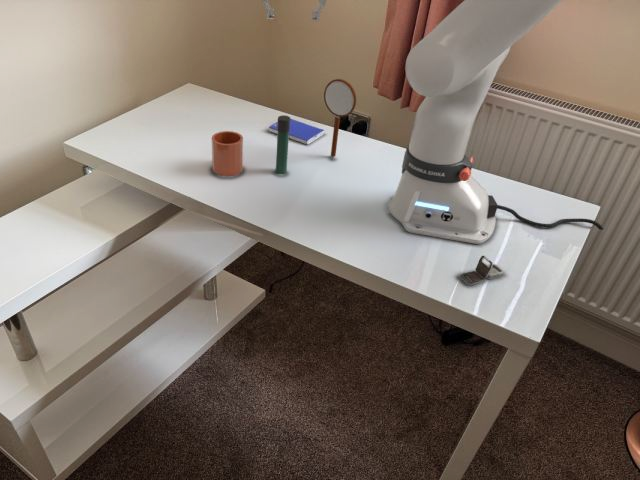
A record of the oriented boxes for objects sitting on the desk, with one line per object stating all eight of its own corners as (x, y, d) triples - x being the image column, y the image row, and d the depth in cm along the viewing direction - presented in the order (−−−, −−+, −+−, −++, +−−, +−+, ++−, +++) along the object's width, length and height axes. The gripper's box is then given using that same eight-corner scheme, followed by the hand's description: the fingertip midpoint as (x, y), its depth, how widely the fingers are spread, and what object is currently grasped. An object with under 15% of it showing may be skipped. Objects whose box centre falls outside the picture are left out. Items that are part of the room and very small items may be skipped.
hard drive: (269, 126, 154) (307, 139, 149) (286, 116, 159) (324, 129, 154) (268, 131, 155) (307, 145, 150) (286, 121, 160) (323, 134, 155)
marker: (288, 172, 138) (292, 116, 129) (283, 177, 136) (287, 121, 127) (278, 169, 139) (281, 114, 130) (273, 174, 137) (275, 118, 128)
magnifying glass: (349, 163, 142) (360, 83, 130) (345, 166, 141) (356, 85, 128) (320, 152, 147) (328, 73, 134) (316, 154, 146) (324, 75, 133)
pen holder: (247, 167, 140) (248, 135, 134) (233, 181, 135) (233, 147, 129) (222, 160, 142) (221, 128, 137) (207, 173, 137) (205, 140, 132)
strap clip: (493, 266, 112) (499, 248, 109) (504, 275, 110) (511, 257, 107) (458, 277, 109) (463, 259, 106) (468, 286, 107) (474, 268, 104)
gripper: (243, -55, 110) (242, 21, 119) (350, -52, 110) (341, 25, 119) (245, -61, 115) (244, 13, 124) (347, -58, 114) (339, 16, 123)
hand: (292, 19), depth 121 cm, fingers open, 8 cm apart
